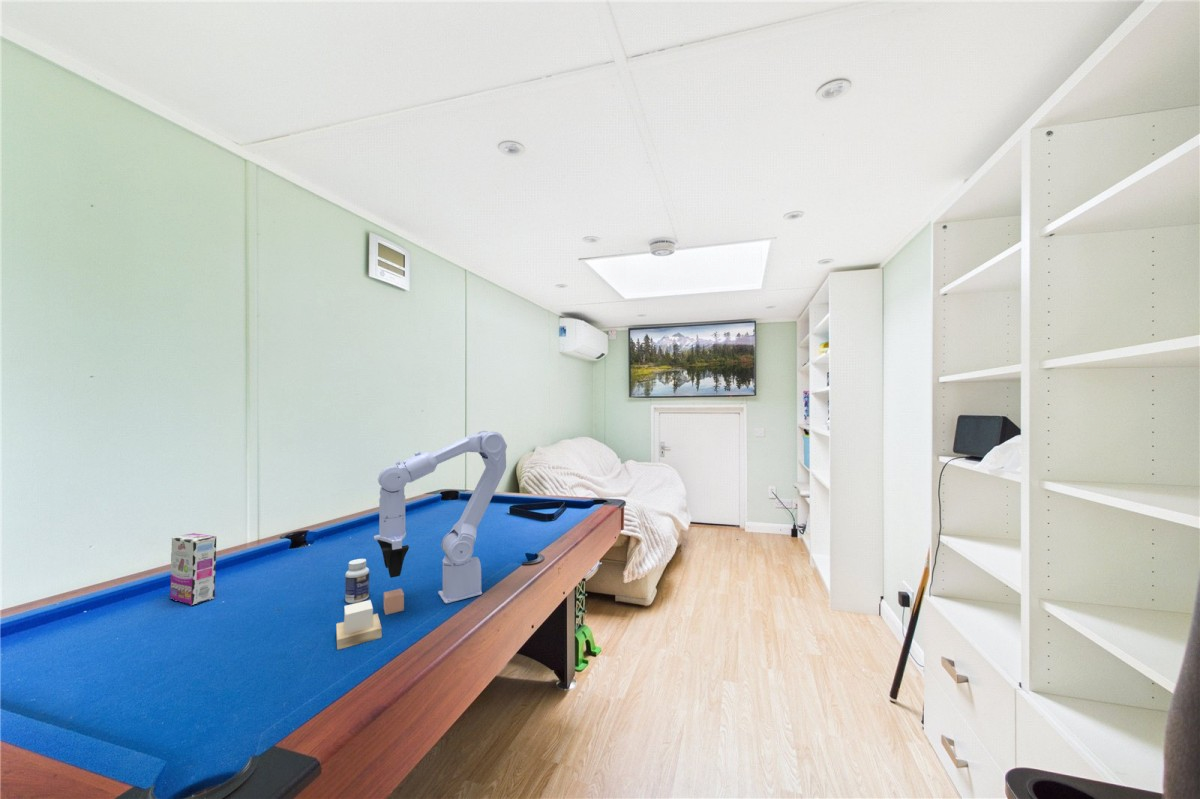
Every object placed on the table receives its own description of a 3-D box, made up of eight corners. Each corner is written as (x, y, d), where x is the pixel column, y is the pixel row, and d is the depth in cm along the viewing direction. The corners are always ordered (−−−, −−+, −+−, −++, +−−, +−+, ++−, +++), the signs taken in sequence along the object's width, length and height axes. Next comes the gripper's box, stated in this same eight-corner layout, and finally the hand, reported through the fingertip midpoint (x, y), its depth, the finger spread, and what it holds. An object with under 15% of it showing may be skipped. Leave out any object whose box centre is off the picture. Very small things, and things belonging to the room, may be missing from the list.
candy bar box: (216, 598, 109) (217, 535, 110) (192, 606, 104) (193, 541, 105) (193, 592, 113) (194, 532, 114) (168, 600, 109) (170, 537, 109)
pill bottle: (358, 604, 104) (358, 565, 104) (340, 603, 105) (340, 564, 106) (374, 595, 109) (374, 558, 110) (356, 593, 110) (356, 557, 111)
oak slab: (377, 622, 95) (377, 613, 95) (381, 637, 88) (381, 628, 88) (336, 633, 90) (336, 623, 90) (337, 649, 84) (337, 639, 84)
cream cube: (370, 617, 93) (370, 599, 93) (372, 627, 89) (372, 608, 89) (344, 624, 90) (344, 605, 90) (345, 634, 86) (345, 614, 86)
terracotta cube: (401, 604, 104) (401, 588, 104) (403, 610, 101) (403, 594, 101) (383, 608, 102) (383, 592, 102) (385, 615, 98) (385, 598, 99)
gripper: (370, 512, 105) (370, 566, 105) (377, 524, 93) (377, 585, 93) (401, 508, 109) (401, 560, 109) (411, 519, 97) (411, 577, 97)
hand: (392, 571), depth 101 cm, fingers open, 7 cm apart
